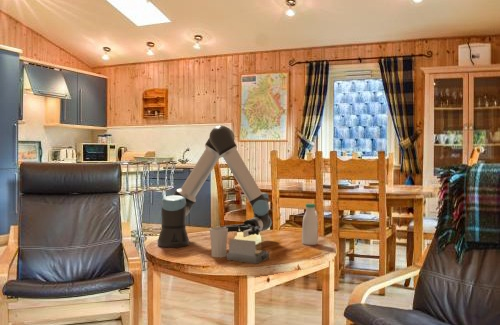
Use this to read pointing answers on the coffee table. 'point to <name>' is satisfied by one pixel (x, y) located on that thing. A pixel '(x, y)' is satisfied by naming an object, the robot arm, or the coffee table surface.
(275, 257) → the coffee table surface
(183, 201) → the robot arm
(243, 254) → the grey holder block
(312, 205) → the milk bottle
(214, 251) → the cup
